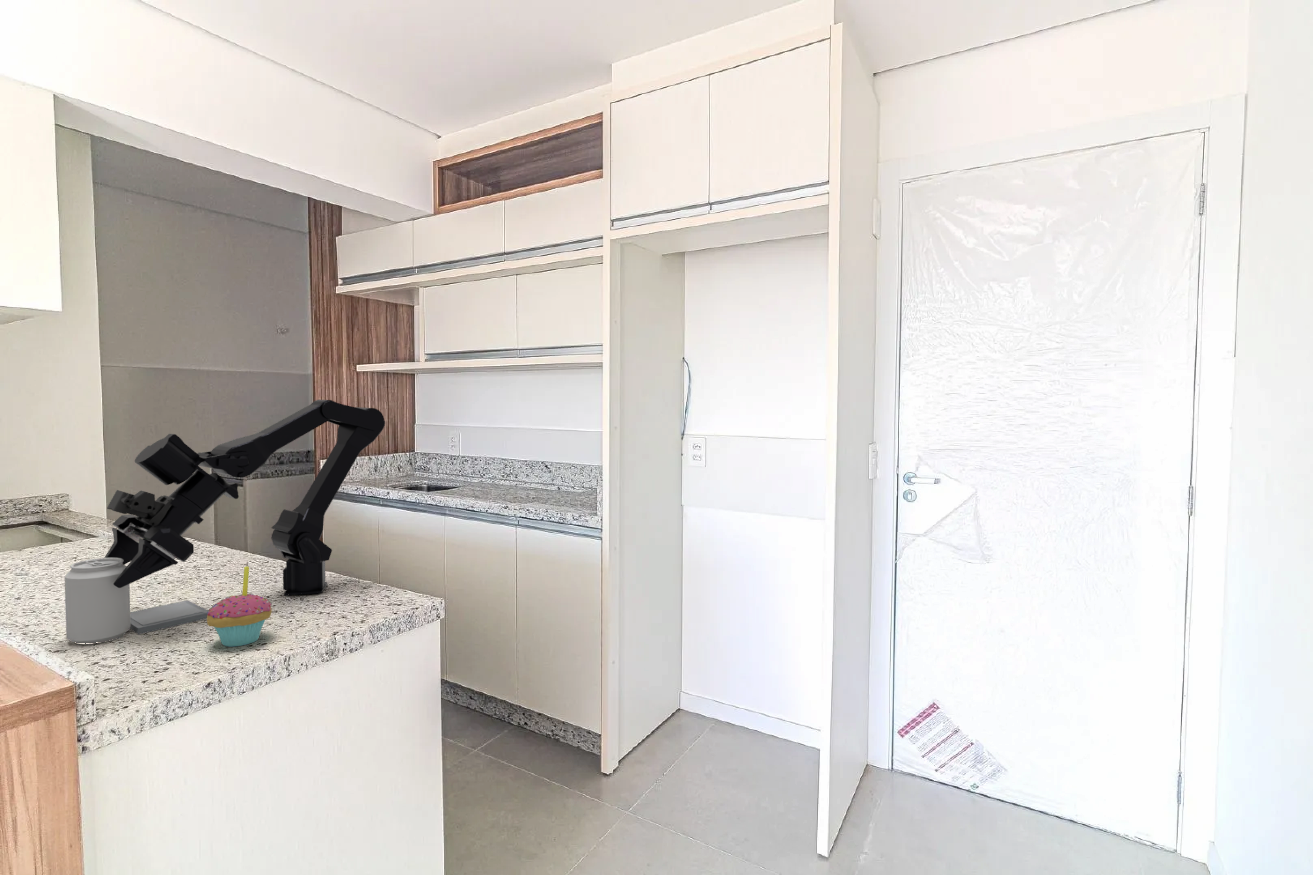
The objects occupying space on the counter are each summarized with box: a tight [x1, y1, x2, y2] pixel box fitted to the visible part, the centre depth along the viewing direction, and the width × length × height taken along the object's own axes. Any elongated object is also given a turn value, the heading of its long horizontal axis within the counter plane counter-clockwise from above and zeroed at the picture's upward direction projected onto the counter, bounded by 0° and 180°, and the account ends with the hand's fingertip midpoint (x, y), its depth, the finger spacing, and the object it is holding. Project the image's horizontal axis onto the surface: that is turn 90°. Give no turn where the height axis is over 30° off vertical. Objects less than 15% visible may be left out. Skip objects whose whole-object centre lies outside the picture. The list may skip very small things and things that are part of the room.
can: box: [64, 557, 131, 644], centre depth 99 cm, size 8×8×12 cm
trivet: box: [129, 599, 210, 635], centre depth 107 cm, size 10×10×1 cm
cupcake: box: [206, 560, 273, 648], centre depth 98 cm, size 9×8×12 cm
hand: (106, 580), depth 99 cm, fingers open, 9 cm apart
